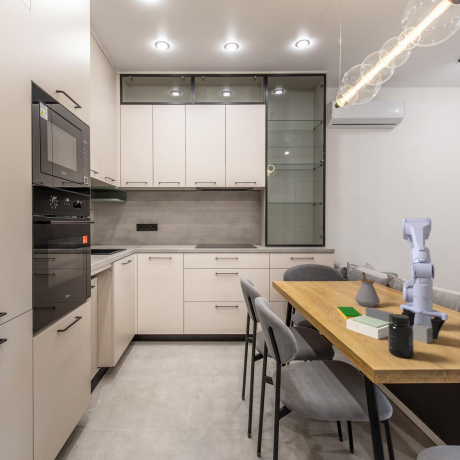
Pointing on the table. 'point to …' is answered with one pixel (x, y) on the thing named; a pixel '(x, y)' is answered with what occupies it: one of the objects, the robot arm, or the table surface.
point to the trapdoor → (375, 318)
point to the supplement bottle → (400, 336)
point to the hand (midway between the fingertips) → (422, 335)
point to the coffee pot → (367, 293)
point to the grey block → (422, 333)
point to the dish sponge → (348, 312)
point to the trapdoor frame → (367, 329)
